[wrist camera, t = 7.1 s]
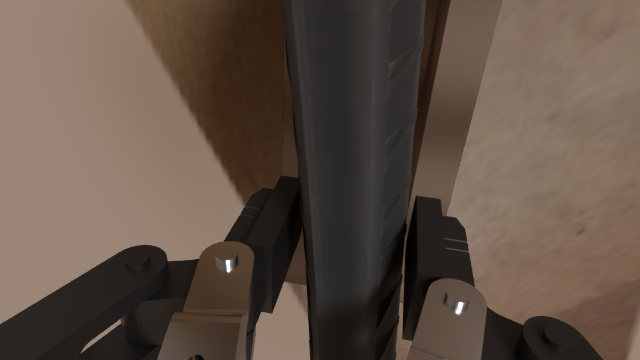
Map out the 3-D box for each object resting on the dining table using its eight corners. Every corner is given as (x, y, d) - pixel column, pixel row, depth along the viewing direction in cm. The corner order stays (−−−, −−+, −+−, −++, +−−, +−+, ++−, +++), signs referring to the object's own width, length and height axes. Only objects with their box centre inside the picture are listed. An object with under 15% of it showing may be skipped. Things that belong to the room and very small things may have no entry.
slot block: (323, -180, 21) (289, -221, 15) (514, -172, 20) (557, -213, 14) (303, 217, 34) (280, 280, 28) (421, 236, 32) (422, 306, 26)
